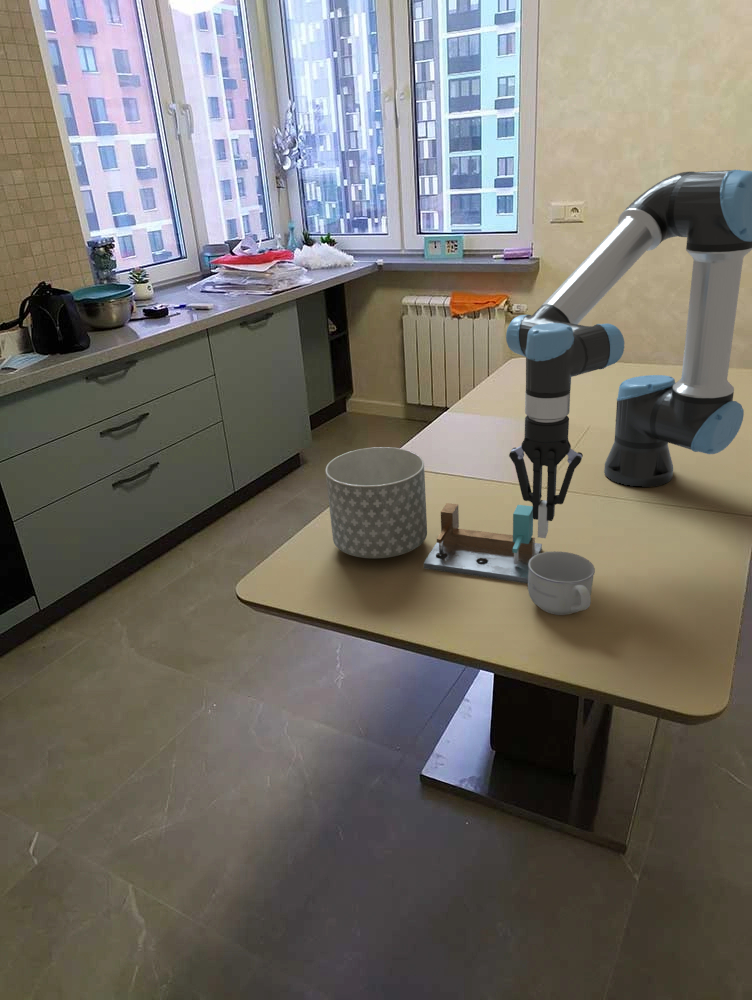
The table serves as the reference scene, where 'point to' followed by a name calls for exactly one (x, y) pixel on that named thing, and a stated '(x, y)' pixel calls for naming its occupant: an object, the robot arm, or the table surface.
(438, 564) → the gauge board
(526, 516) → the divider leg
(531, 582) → the teacup
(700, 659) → the table surface
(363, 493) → the planter
